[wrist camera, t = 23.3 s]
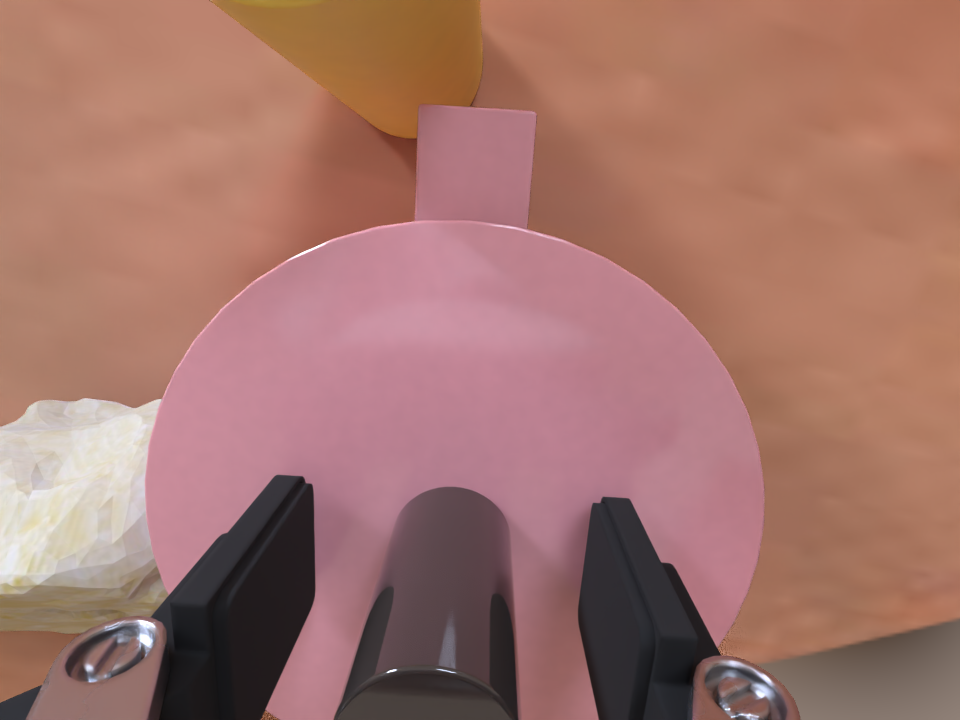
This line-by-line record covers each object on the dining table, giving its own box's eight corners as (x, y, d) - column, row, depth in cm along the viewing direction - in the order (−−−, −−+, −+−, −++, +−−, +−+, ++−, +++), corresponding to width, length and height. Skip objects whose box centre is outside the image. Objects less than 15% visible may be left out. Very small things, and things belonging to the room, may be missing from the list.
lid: (195, 713, 15) (6, 1034, 9) (146, 198, 11) (-224, 178, 5) (689, 747, 15) (817, 1090, 9) (798, 241, 11) (1132, 268, 5)
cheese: (391, 429, 22) (-61, 197, 11) (382, 623, 19) (-313, 571, 7) (166, 495, 29) (-269, 389, 17) (125, 649, 25) (-461, 643, 14)
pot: (305, 597, 22) (207, 797, 15) (293, 137, 18) (139, 76, 10) (604, 617, 22) (665, 829, 15) (672, 162, 18) (814, 120, 10)
